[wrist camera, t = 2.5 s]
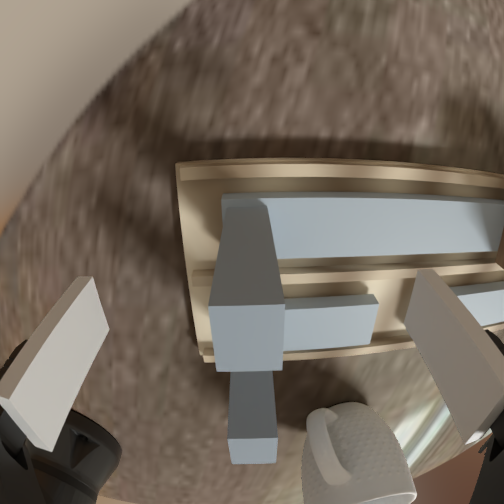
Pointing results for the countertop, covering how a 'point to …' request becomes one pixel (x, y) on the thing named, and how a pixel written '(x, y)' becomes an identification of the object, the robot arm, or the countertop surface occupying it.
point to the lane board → (329, 268)
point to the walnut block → (500, 252)
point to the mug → (353, 459)
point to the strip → (322, 253)
